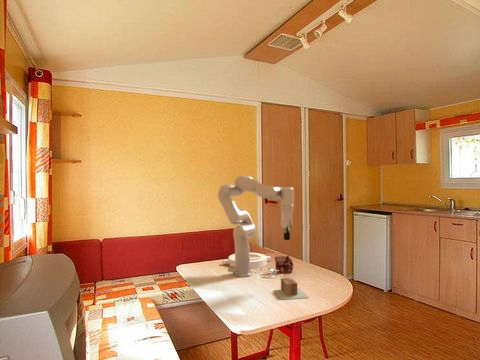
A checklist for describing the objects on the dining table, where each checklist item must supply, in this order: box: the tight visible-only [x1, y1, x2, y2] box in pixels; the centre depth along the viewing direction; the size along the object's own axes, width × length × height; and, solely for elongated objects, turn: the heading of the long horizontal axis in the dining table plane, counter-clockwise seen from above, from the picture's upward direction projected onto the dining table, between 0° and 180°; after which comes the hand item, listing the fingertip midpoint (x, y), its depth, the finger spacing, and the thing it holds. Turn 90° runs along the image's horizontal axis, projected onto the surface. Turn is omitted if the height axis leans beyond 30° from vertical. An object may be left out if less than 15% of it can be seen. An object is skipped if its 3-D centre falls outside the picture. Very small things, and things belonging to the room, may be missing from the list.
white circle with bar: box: [222, 252, 272, 269], centre depth 218 cm, size 28×28×5 cm
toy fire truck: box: [274, 255, 294, 274], centre depth 195 cm, size 7×12×10 cm, turn 101°
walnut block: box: [280, 277, 298, 296], centre depth 158 cm, size 6×6×10 cm
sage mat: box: [273, 287, 309, 301], centre depth 156 cm, size 15×13×1 cm
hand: (286, 239), depth 173 cm, fingers closed
